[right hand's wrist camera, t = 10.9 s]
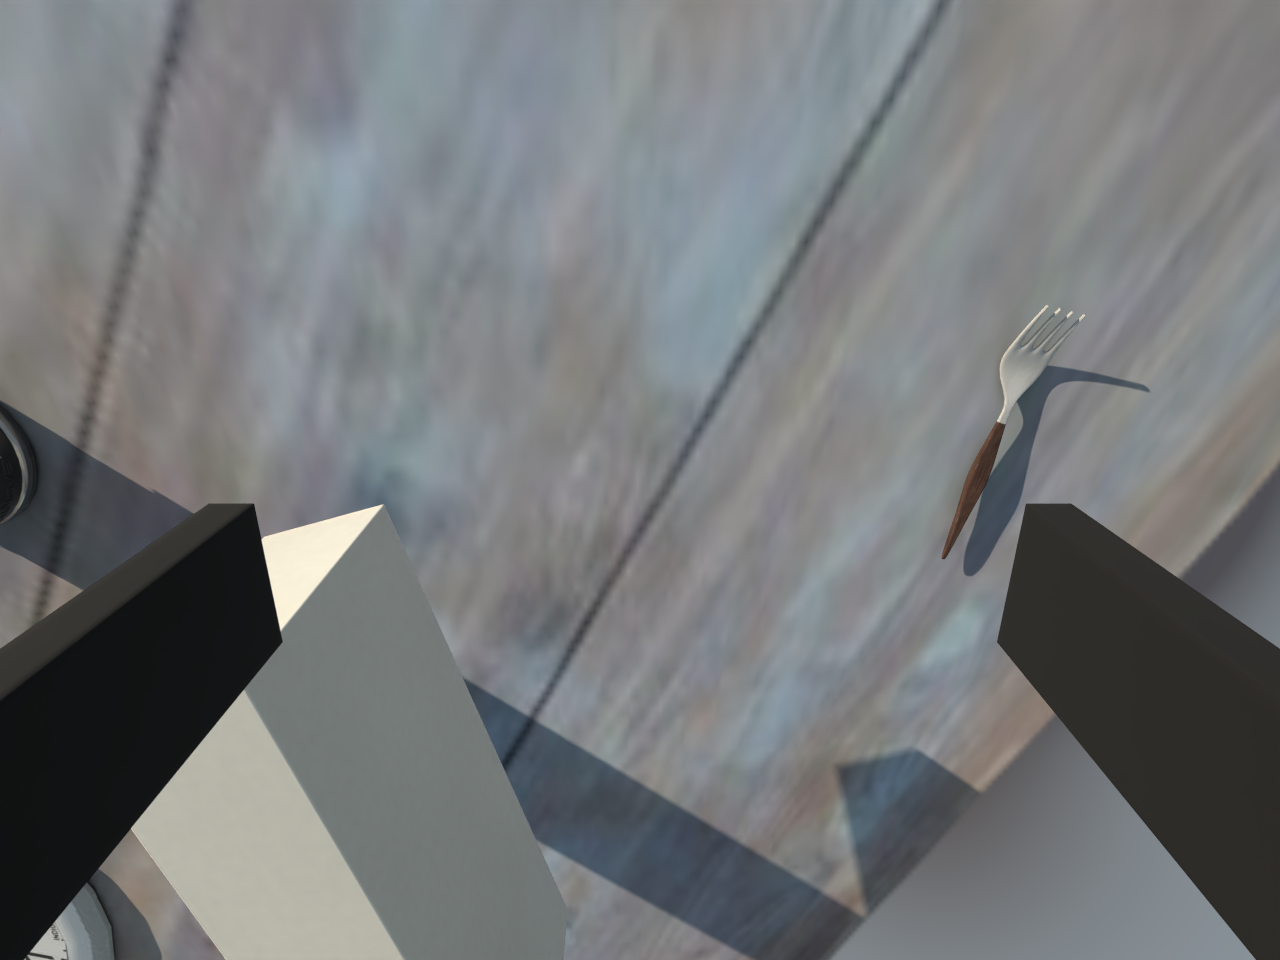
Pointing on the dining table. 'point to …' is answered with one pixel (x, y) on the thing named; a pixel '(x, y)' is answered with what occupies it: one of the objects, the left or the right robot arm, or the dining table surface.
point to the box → (354, 782)
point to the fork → (1006, 410)
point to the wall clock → (77, 932)
